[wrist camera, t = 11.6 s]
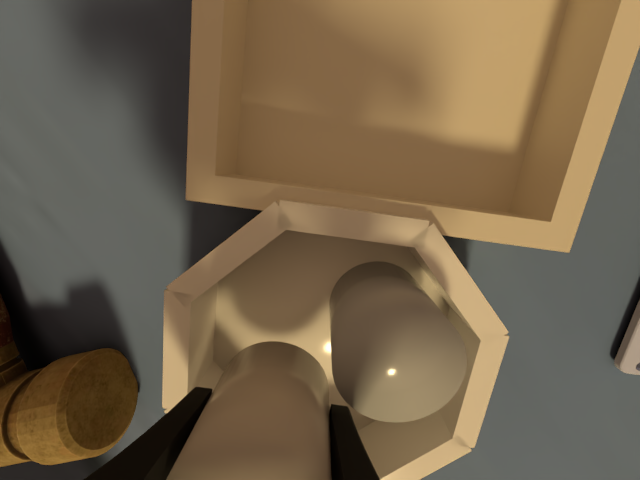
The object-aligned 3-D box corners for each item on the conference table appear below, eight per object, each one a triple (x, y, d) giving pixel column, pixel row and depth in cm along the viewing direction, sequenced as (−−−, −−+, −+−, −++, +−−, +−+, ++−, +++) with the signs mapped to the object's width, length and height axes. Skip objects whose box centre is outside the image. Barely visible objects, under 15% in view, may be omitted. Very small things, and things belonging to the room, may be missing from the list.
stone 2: (430, 267, 14) (481, 312, 9) (412, 351, 15) (450, 428, 10) (335, 255, 14) (341, 296, 9) (324, 341, 15) (324, 415, 10)
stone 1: (338, 351, 12) (347, 455, 7) (318, 445, 12) (315, 589, 8) (227, 332, 12) (167, 425, 7) (214, 428, 12) (154, 564, 8)
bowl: (486, 219, 14) (540, 236, 10) (426, 447, 17) (452, 518, 13) (206, 181, 14) (166, 184, 10) (195, 417, 16) (161, 482, 13)
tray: (637, -180, 10) (765, -323, 7) (515, 234, 14) (569, 252, 11) (241, -242, 10) (205, -416, 7) (216, 193, 14) (185, 200, 11)
